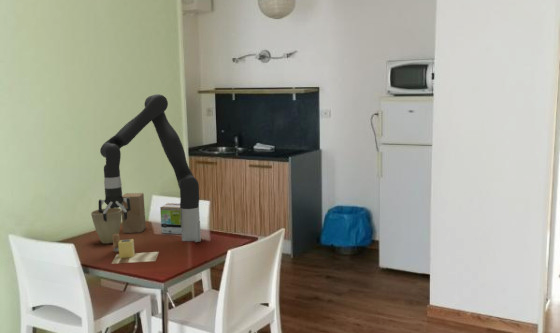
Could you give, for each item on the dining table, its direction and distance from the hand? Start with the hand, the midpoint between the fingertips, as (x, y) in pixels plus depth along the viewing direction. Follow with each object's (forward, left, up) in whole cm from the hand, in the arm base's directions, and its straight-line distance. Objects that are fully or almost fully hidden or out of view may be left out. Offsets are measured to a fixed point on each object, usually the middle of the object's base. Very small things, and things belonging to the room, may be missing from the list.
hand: (115, 220), depth 259 cm
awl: (+1, -1, -16) cm, 16 cm away
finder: (-5, +9, -15) cm, 18 cm away
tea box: (-25, -35, -16) cm, 46 cm away
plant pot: (+9, -23, -16) cm, 29 cm away
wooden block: (-1, -43, -16) cm, 46 cm away
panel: (-10, +12, -16) cm, 22 cm away
